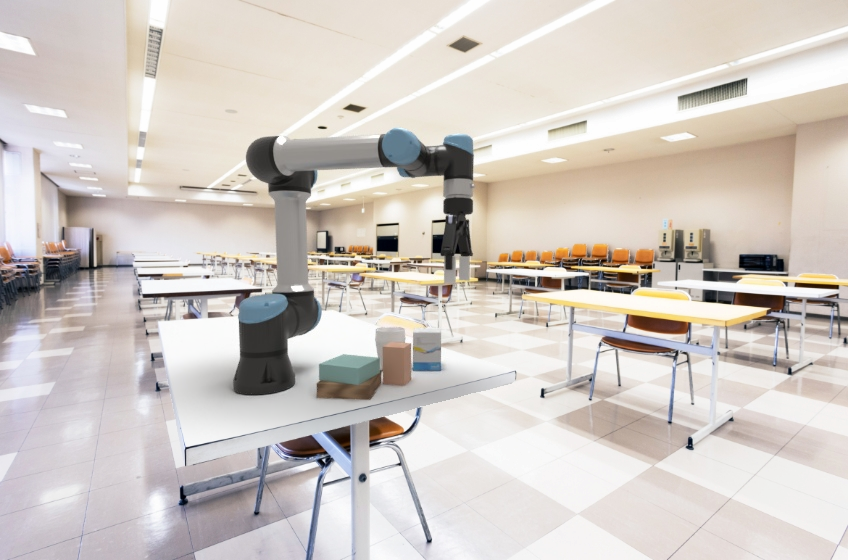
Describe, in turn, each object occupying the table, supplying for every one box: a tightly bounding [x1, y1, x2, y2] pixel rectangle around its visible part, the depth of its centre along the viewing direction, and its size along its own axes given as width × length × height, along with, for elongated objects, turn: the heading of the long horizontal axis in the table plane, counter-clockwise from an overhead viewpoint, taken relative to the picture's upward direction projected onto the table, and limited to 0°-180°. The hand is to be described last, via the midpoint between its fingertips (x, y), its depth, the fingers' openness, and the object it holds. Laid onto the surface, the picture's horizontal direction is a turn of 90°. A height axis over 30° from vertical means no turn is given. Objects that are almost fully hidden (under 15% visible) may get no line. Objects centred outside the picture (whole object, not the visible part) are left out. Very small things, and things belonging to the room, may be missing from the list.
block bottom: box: [316, 370, 382, 401], centre depth 104 cm, size 13×13×4 cm
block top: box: [318, 353, 380, 385], centre depth 104 cm, size 11×11×4 cm
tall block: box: [382, 342, 412, 387], centre depth 111 cm, size 6×6×10 cm
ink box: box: [412, 326, 442, 372], centre depth 125 cm, size 9×8×12 cm
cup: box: [374, 326, 406, 372], centre depth 123 cm, size 9×9×12 cm
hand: (457, 282), depth 105 cm, fingers open, 13 cm apart
